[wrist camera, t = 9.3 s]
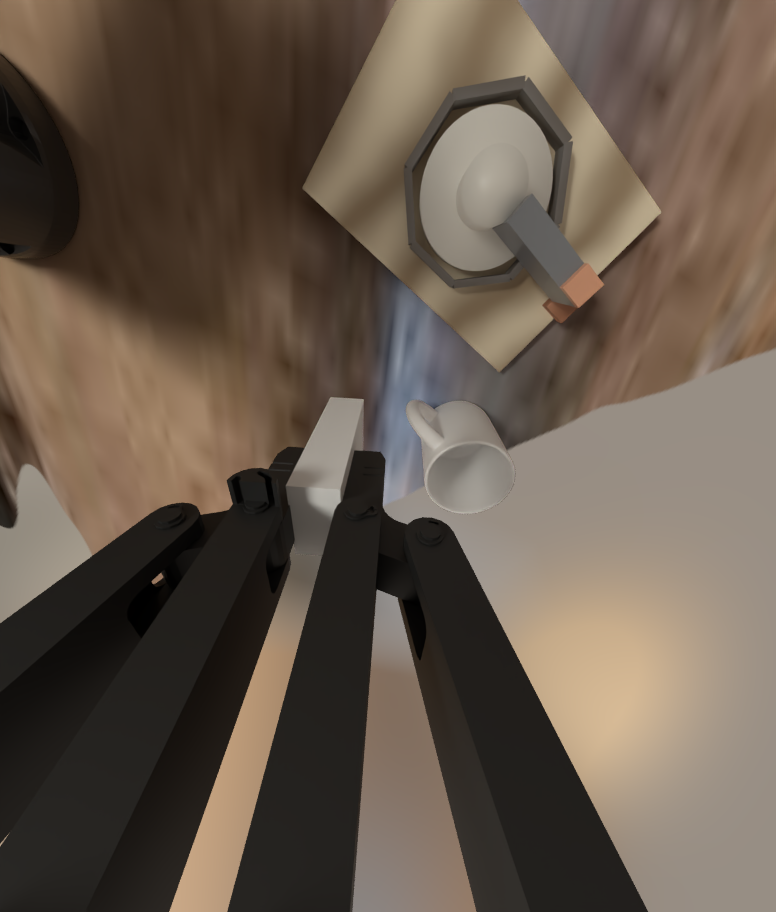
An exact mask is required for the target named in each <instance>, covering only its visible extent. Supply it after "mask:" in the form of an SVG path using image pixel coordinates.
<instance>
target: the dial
mask: <svg viewBox="0 0 776 912" xmlns="http://www.w3.org/2000/svg"><path fill="white" fill-rule="evenodd" d="M552 181H553V167H552V158H551V153H550V149H549V146H548V143H547V141H546V138H545V136H544V134H543V132H542V131H541V129H540V127H539V126H538V125H537V124H536V122H535V121H534V120H533V119H532V118H531V117H530V116H529V115H527V114H526V113H525V112H523V111H521V110H519V109H517V108H515V107H512V106H509V105H502V104H491V105H486V106H481V107H479V108H476V109H474V110H471V111H470V112H468V113H466V114H464V115H463V116H461V117H460V118H459V119H458V120H456V121H455V122H454V123H453V124H452V125H451V126H450V127H449V128H448V129H447V130H446V131H445V132H444V134H443V135H442V136H441V138H440V139H439V140H438V142H437V144H436V145H435V147H434V149H433V151H432V153H431V155H430V157H429V159H428V162H427V165H426V167H425V170H424V174H423V179H422V183H421V190H420V199H419V210H420V219H421V225H422V228H423V231H424V234H425V237H426V239H427V241H428V243H429V245H430V246H431V248H432V250H433V251H434V252H435V253H436V255H437V256H438V257H440V258H441V259H442V260H443V261H444V262H446V263H447V264H449V265H451V266H453V267H455V268H458V269H461V270H467V271H482V270H488V269H492V268H495V267H497V266H500V265H502V264H504V263H505V262H507V261H509V260H510V259H512V258H513V257H514V256H515V257H516V258H517V259H518V260H519V262H520V263H521V264H522V265H523V267H524V268H525V269H526V270H527V271H528V273H529V274H530V275H531V276H532V278H533V279H534V280H535V281H536V282H537V284H538V285H539V286H540V287H541V288H542V290H543V291H544V292H545V293H546V295H547V296H548V297H549V298H550V299H551V301H552V302H556V303H561V304H565V305H569V306H573V307H577V308H579V307H580V306H581V305H583V304H584V303H585V302H586V301H587V300H588V299H589V298H590V297H591V296H592V295H593V294H595V293H596V292H597V291H598V290H599V289H600V288H601V287H602V286H603V285H604V284H603V282H602V281H601V280H600V278H599V277H598V276H597V274H596V273H595V272H594V270H593V269H592V268H591V266H590V265H589V263H584V262H583V261H582V260H581V258H580V257H579V256H578V254H577V253H576V252H575V250H574V249H573V248H572V246H571V245H570V244H569V242H568V241H567V239H566V238H565V237H564V235H563V234H562V233H561V231H560V230H559V229H558V227H557V226H556V225H555V223H554V222H553V221H552V219H551V218H550V217H549V215H548V214H547V212H546V210H547V207H548V204H549V200H550V195H551V190H552Z"/></svg>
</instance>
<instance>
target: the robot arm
mask: <svg viewBox="0 0 776 912" xmlns="http://www.w3.org/2000/svg"><path fill="white" fill-rule="evenodd" d="M78 209H79V202H78V190H77V184H76V179H75V175H74V171H73V167H72V164H71V161H70V158H69V155H68V152H67V150H66V147H65V145H64V143H63V140H62V138H61V136H60V134H59V132H58V130H57V128H56V126H55V124H54V123H53V121H52V119H51V117H50V116H49V114H48V112H47V111H46V109H45V107H44V106H43V104H42V103H41V101H40V100H39V99H38V97H37V96H36V94H35V93H34V92H33V90H32V89H31V88H30V86H29V85H28V84H27V83H26V81H25V80H24V79H23V78H22V77H21V75H20V74H19V73H18V72H17V71H16V70H15V69H14V68H13V67H12V66H11V65H10V64H9V62H8V61H7V60H6V59H4V58H3V57H2V56H1V55H0V257H6V258H32V259H34V258H44V257H48V256H51V255H53V254H55V253H57V252H59V251H60V250H61V249H63V248H64V247H65V246H66V244H67V243H68V242H69V240H70V239H71V237H72V235H73V233H74V230H75V228H76V224H77V219H78ZM363 417H364V399H352V398H337V397H330V399H329V401H328V403H327V405H326V407H325V409H324V411H323V413H322V415H321V417H320V419H319V421H318V423H317V425H316V427H315V429H314V431H313V433H312V435H311V437H310V439H309V441H308V443H307V445H306V447H305V448H298V447H287V448H286V449H284V450H283V451H281V452H280V453H278V454H277V456H276V458H275V459H274V461H273V464H271V466H270V467H269V470H268V469H263V468H251V469H247V470H243V471H240V472H238V473H236V474H234V475H232V476H231V477H230V478H229V479H228V480H227V484H228V487H229V491H230V495H231V499H232V502H233V505H232V506H231V508H230V509H229V510H227V511H222V512H216V513H210V514H203V515H200V512H199V510H198V508H197V506H195V505H193V504H190V503H176V504H170V505H167V506H164V507H161V508H159V509H157V510H156V511H154V512H152V513H151V514H149V515H148V516H146V517H145V518H144V519H142V520H141V521H140V522H138V523H137V524H135V525H134V526H133V527H131V528H130V529H129V530H127V531H126V532H125V533H123V534H122V535H120V536H119V537H118V538H116V539H115V540H114V541H112V542H111V543H110V544H108V545H107V546H105V547H104V548H103V549H101V550H100V551H99V552H97V553H96V554H94V555H93V556H92V557H90V558H89V559H88V560H86V561H85V562H84V563H82V564H81V565H79V566H78V567H77V568H75V569H74V570H73V571H71V572H70V573H69V574H67V575H66V576H64V577H63V578H62V579H60V580H59V581H58V582H56V583H55V584H54V585H52V586H51V587H49V588H48V589H47V590H46V591H44V592H43V593H41V594H40V595H38V596H37V597H36V598H34V599H33V600H32V601H30V602H29V603H28V604H26V605H25V606H23V607H22V608H21V609H19V610H18V611H17V612H15V613H14V614H12V615H11V616H10V617H8V618H7V619H6V620H4V621H3V622H2V623H0V843H1V842H2V841H3V840H4V838H5V837H6V836H7V835H8V834H9V835H8V836H7V838H6V839H5V841H4V842H3V844H2V845H1V846H0V912H169V910H170V907H171V905H172V902H173V899H174V896H175V893H176V891H177V888H178V884H179V882H180V879H181V876H182V874H183V870H184V868H185V865H186V862H187V859H188V857H189V854H190V851H191V848H192V845H193V842H194V840H195V837H196V834H197V831H198V828H199V825H200V823H201V820H202V817H203V814H204V811H205V808H206V806H207V803H208V800H209V797H210V794H211V791H212V789H213V786H214V783H215V780H216V777H217V774H218V772H219V769H220V765H221V763H222V760H223V757H224V755H225V751H226V749H227V746H228V743H229V740H230V738H231V735H232V732H233V729H234V726H235V723H236V721H237V718H238V715H239V712H240V709H241V706H242V704H243V700H244V698H245V695H246V692H247V689H248V687H249V684H250V681H251V678H252V675H253V672H254V669H255V666H256V664H257V661H258V658H259V655H260V652H261V650H262V647H263V644H264V641H265V638H266V636H267V633H268V630H269V627H270V624H271V621H272V618H273V616H274V613H275V610H276V607H277V604H278V601H279V598H280V596H281V593H282V590H283V587H284V584H285V581H286V579H287V576H288V573H289V570H290V565H291V561H290V552H291V549H292V546H293V544H294V547H295V554H304V555H319V556H322V559H321V563H320V566H319V570H318V574H317V578H316V581H315V585H314V589H313V593H312V597H311V600H310V604H309V608H308V611H307V615H306V619H305V623H304V626H303V630H302V634H301V638H300V642H299V645H298V649H297V653H296V657H295V660H294V664H293V668H292V672H291V675H290V679H289V683H288V687H287V690H286V694H285V698H284V701H283V705H282V709H281V713H280V716H279V720H278V724H277V728H276V732H275V735H274V739H273V743H272V746H271V750H270V754H269V758H268V761H267V765H266V769H265V772H264V776H263V780H262V784H261V787H260V791H259V795H258V799H257V802H256V806H255V810H254V814H253V818H252V821H251V825H250V829H249V833H248V836H247V840H246V844H245V848H244V851H243V855H242V859H241V862H240V866H239V870H238V874H237V878H236V881H235V885H234V889H233V893H232V896H231V900H230V904H229V907H228V912H352V908H353V895H354V881H355V868H356V855H357V842H358V828H359V814H360V801H361V788H362V775H363V762H364V748H365V736H366V722H367V709H368V695H369V683H370V669H371V656H372V643H373V629H374V616H375V603H376V590H377V589H378V590H380V591H383V592H385V593H388V594H390V595H393V596H396V597H398V602H399V606H400V610H401V614H402V617H403V621H404V625H405V629H406V633H407V637H408V641H409V645H410V649H411V653H412V657H413V661H414V665H415V669H416V673H417V677H418V681H419V685H420V689H421V693H422V697H423V701H424V705H425V709H426V713H427V716H428V720H429V725H430V728H431V732H432V736H433V740H434V744H435V748H436V752H437V756H438V760H439V764H440V768H441V772H442V776H443V780H444V784H445V787H446V792H447V796H448V800H449V803H450V808H451V812H452V816H453V819H454V823H455V828H456V831H457V835H458V839H459V843H460V847H461V851H462V855H463V859H464V863H465V867H466V871H467V875H468V879H469V883H470V887H471V891H472V894H473V899H474V903H475V907H476V911H477V912H648V911H647V909H646V907H645V905H644V903H643V901H642V899H641V897H640V895H639V893H638V891H637V889H636V887H635V885H634V883H633V881H632V879H631V877H630V876H629V874H628V872H627V870H626V868H625V866H624V864H623V862H622V860H621V858H620V856H619V854H618V852H617V850H616V848H615V846H614V844H613V842H612V840H611V838H610V837H609V835H608V833H607V831H606V829H605V827H604V825H603V823H602V821H601V819H600V817H599V815H598V813H597V811H596V809H595V807H594V805H593V803H592V801H591V799H590V797H589V796H588V794H587V792H586V790H585V788H584V786H583V784H582V782H581V780H580V778H579V776H578V774H577V772H576V770H575V768H574V766H573V764H572V762H571V761H570V759H569V756H568V755H567V753H566V751H565V749H564V747H563V745H562V743H561V741H560V739H559V737H558V735H557V733H556V731H555V729H554V727H553V726H552V723H551V721H550V719H549V718H548V716H547V714H546V712H545V710H544V708H543V706H542V704H541V702H540V700H539V698H538V696H537V694H536V692H535V690H534V688H533V686H532V684H531V683H530V680H529V678H528V676H527V675H526V673H525V671H524V669H523V667H522V665H521V663H520V661H519V659H518V657H517V655H516V653H515V651H514V649H513V648H512V645H511V643H510V641H509V640H508V637H507V636H506V634H505V632H504V630H503V628H502V626H501V624H500V622H499V620H498V618H497V616H496V614H495V612H494V610H493V608H492V606H491V604H490V602H489V600H488V599H487V596H486V595H485V593H484V591H483V589H482V587H481V585H480V583H479V581H478V579H477V577H476V575H475V573H474V571H473V569H472V567H471V565H470V563H469V561H468V559H467V558H466V555H465V554H464V552H463V550H462V548H461V546H460V544H459V542H458V540H457V538H456V536H455V534H454V532H453V531H452V530H451V528H450V527H449V526H448V525H447V524H445V523H444V522H442V521H440V520H437V519H434V518H424V517H422V518H419V519H415V520H413V521H412V522H410V523H409V524H408V525H407V524H404V523H401V522H398V521H396V520H394V519H392V518H391V517H389V516H388V515H387V513H385V511H384V509H383V492H384V476H385V458H384V457H383V455H382V453H381V452H373V451H363ZM160 573H162V575H163V577H164V578H162V579H161V580H160V581H159V582H157V583H156V584H152V582H151V581H152V580H153V579H154V578H155V577H157V576H158V575H159V574H160ZM10 831H11V832H10Z"/></svg>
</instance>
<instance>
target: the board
mask: <svg viewBox="0 0 776 912" xmlns="http://www.w3.org/2000/svg"><path fill="white" fill-rule="evenodd" d="M491 104H502V105H509V106H512V107H515V108H517V109H519V110H521V111H523V112H525V113H526V114H527V115H529V116H530V117H531V118H532V119H533V120H534V121H535V122H536V124H537V125H538V126H539V127H540V129H541V131H542V132H543V134H544V136H545V138H546V141H547V143H548V146H549V149H550V153H551V158H552V167H553V181H552V190H551V195H550V200H549V204H548V207H547V210H546V212H547V214H548V215H549V217H550V218H551V219H552V221H553V222H554V223H555V225H556V226H557V227H558V229H559V230H560V231H561V233H562V234H563V235H564V237H565V238H566V239H567V241H568V242H569V244H570V245H571V246H572V248H573V249H574V250H575V252H576V253H577V254H578V256H579V257H580V258H581V260H582V261H583V262H584V263H589V265H590V266H591V268H592V269H593V270H594V272H595V273H596V274H597V275H598V274H599V273H600V272H602V271H603V270H604V269H605V268H606V267H607V266H608V265H609V264H610V263H611V262H612V261H613V260H614V259H615V258H616V257H617V256H618V255H619V254H620V253H621V252H622V251H623V250H624V249H625V248H626V247H627V246H628V245H629V244H630V243H631V242H632V241H633V240H634V239H635V238H636V237H637V236H638V235H639V234H640V233H641V232H642V231H643V230H644V229H645V228H646V227H647V226H648V225H649V224H650V223H651V222H652V221H653V220H654V219H655V218H656V217H657V216H658V215H659V214H660V213H661V210H660V209H659V207H658V206H657V205H656V203H655V202H654V200H653V199H652V197H651V196H650V194H649V193H648V191H647V190H646V188H645V187H644V185H643V184H642V182H641V181H640V180H639V178H638V177H637V175H636V174H635V172H634V171H633V169H632V168H631V166H630V165H629V163H628V162H627V160H626V159H625V157H624V156H623V155H622V153H621V152H620V150H619V149H618V147H617V146H616V144H615V143H614V141H613V140H612V138H611V137H610V135H609V134H608V133H607V131H606V130H605V128H604V127H603V125H602V124H601V122H600V121H599V119H598V118H597V116H596V115H595V113H594V112H593V110H592V109H591V108H590V106H589V105H588V103H587V102H586V100H585V99H584V97H583V96H582V94H581V93H580V91H579V90H578V88H577V87H576V85H575V84H574V83H573V81H572V80H571V78H570V77H569V75H568V74H567V72H566V71H565V69H564V68H563V66H562V65H561V63H560V62H559V60H558V59H557V58H556V56H555V55H554V53H553V52H552V50H551V49H550V47H549V46H548V44H547V43H546V41H545V40H544V38H543V37H542V35H541V34H540V33H539V31H538V30H537V28H536V27H535V25H534V24H533V22H532V21H531V19H530V18H529V16H528V15H527V13H526V12H525V11H524V9H523V8H522V6H521V5H520V3H519V2H518V0H396V1H395V3H394V5H393V7H392V9H391V11H390V13H389V15H388V17H387V19H386V21H385V23H384V25H383V27H382V29H381V31H380V33H379V35H378V37H377V39H376V41H375V43H374V45H373V47H372V49H371V51H370V53H369V55H368V57H367V59H366V61H365V63H364V65H363V67H362V69H361V71H360V73H359V75H358V77H357V79H356V81H355V83H354V85H353V87H352V89H351V91H350V93H349V95H348V97H347V99H346V101H345V103H344V105H343V107H342V109H341V111H340V113H339V115H338V117H337V119H336V121H335V123H334V125H333V127H332V129H331V131H330V133H329V135H328V137H327V139H326V141H325V143H324V145H323V147H322V149H321V151H320V153H319V155H318V157H317V159H316V161H315V163H314V165H313V167H312V169H311V171H310V173H309V175H308V177H307V179H306V181H305V183H304V185H303V187H302V189H303V190H305V191H306V192H307V193H308V194H309V195H310V196H311V197H312V198H313V199H314V200H315V201H316V202H317V203H318V204H320V205H321V206H322V207H323V208H324V209H325V210H326V211H327V212H328V213H329V214H330V215H331V216H332V217H333V218H335V219H336V220H337V221H338V222H339V223H340V224H341V225H342V226H343V227H344V228H345V229H346V230H347V231H348V232H350V233H351V234H352V235H353V236H354V237H355V238H356V239H357V240H358V241H359V242H360V243H361V244H362V245H363V246H365V247H366V248H367V249H368V250H369V251H370V252H371V253H372V254H373V255H374V256H375V257H376V258H377V259H378V260H380V261H381V262H382V263H383V264H384V265H385V266H386V267H387V268H388V269H389V270H390V271H391V272H392V273H393V274H395V275H396V276H397V277H398V278H399V279H400V280H401V281H402V282H403V283H404V284H405V285H406V286H407V287H408V288H410V289H411V290H412V291H413V292H414V293H415V294H416V295H417V296H418V297H419V298H420V299H421V300H422V301H423V302H425V303H426V304H427V305H428V306H429V307H430V308H431V309H432V310H433V311H434V312H435V313H436V314H437V315H438V316H440V317H441V318H442V319H443V320H444V321H445V322H446V323H447V324H448V325H449V326H450V327H451V328H452V329H453V330H455V331H456V332H457V333H458V334H459V335H460V336H461V337H462V338H463V339H464V340H465V341H466V342H467V343H468V344H470V345H471V346H472V347H473V348H474V349H475V350H476V351H477V352H478V353H479V354H480V355H481V356H482V357H483V358H485V359H486V360H487V361H488V362H489V363H490V364H491V365H492V366H493V367H494V368H495V369H496V370H497V371H498V372H500V371H501V370H502V369H503V368H504V367H505V366H506V365H507V364H508V363H509V362H510V361H511V360H512V359H513V358H514V357H515V356H516V355H517V354H519V353H520V352H521V351H522V350H523V349H524V348H525V347H526V346H527V345H528V344H529V343H530V342H531V341H532V340H533V339H534V338H535V337H536V336H537V335H538V334H539V333H540V332H541V331H542V330H543V329H544V328H545V327H546V326H547V325H548V324H549V323H550V322H551V321H552V320H553V319H555V320H556V321H557V322H560V323H563V322H564V321H565V320H566V319H567V318H568V317H569V316H570V315H571V314H572V313H573V312H574V311H575V310H576V309H577V307H573V306H569V305H565V304H561V303H556V302H552V301H551V299H550V298H549V297H548V296H547V295H546V293H545V292H544V291H543V290H542V288H541V287H540V286H539V285H538V284H537V282H536V281H535V280H534V279H533V278H532V276H531V275H530V274H529V273H528V271H527V270H526V269H525V268H524V267H523V265H522V264H521V263H520V262H519V260H518V259H517V258H516V257H515V256H514V257H513V258H512V259H510V260H509V261H507V262H505V263H504V264H502V265H500V266H497V267H495V268H492V269H488V270H482V271H467V270H461V269H458V268H455V267H453V266H451V265H449V264H447V263H446V262H444V261H443V260H442V259H441V258H440V257H438V256H437V255H436V253H435V252H434V251H433V250H432V248H431V246H430V245H429V243H428V241H427V239H426V237H425V234H424V231H423V228H422V225H421V219H420V210H419V199H420V190H421V183H422V179H423V174H424V170H425V167H426V165H427V162H428V159H429V157H430V155H431V153H432V151H433V149H434V147H435V145H436V144H437V142H438V140H439V139H440V138H441V136H442V135H443V134H444V132H445V131H446V130H447V129H448V128H449V127H450V126H451V125H452V124H453V123H454V122H455V121H456V120H458V119H459V118H460V117H461V116H463V115H464V114H466V113H468V112H470V111H471V110H474V109H476V108H479V107H481V106H486V105H491Z"/></svg>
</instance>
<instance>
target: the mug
mask: <svg viewBox="0 0 776 912" xmlns="http://www.w3.org/2000/svg"><path fill="white" fill-rule="evenodd" d="M406 415H407V418H408V420H409V422H410V424H411V426H412V428H413V429H414V430H415V432H416V433H417V434H418V436H419V437H420V438H421V446H422V458H423V470H424V483H425V488H426V491H427V493H428V495H429V497H430V498H431V499H432V500H433V502H434V503H435V504H436V505H438V506H439V507H441V508H442V509H444V510H447V511H449V512H453V513H458V514H473V513H479V512H483V511H486V510H488V509H490V508H492V507H494V506H496V505H497V504H499V503H500V502H501V501H502V500H503V499H505V498H506V496H507V495H508V494H509V492H510V491H511V489H512V487H513V484H514V481H515V467H514V464H513V461H512V459H511V457H510V456H509V454H508V452H507V450H506V448H505V446H504V444H503V443H502V441H501V439H500V437H499V435H498V433H497V432H496V430H495V428H494V426H493V424H492V422H491V421H490V419H489V417H488V416H487V414H486V413H485V412H484V411H483V410H482V409H481V408H480V407H478V406H477V405H475V404H473V403H470V402H466V401H451V402H447V403H444V404H442V405H440V406H438V407H436V408H435V409H433V408H432V407H431V406H429V405H428V404H426V403H425V402H423V401H420V400H411V401H410V402H409V403H408V404H407V406H406ZM424 418H425V419H424Z"/></svg>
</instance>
